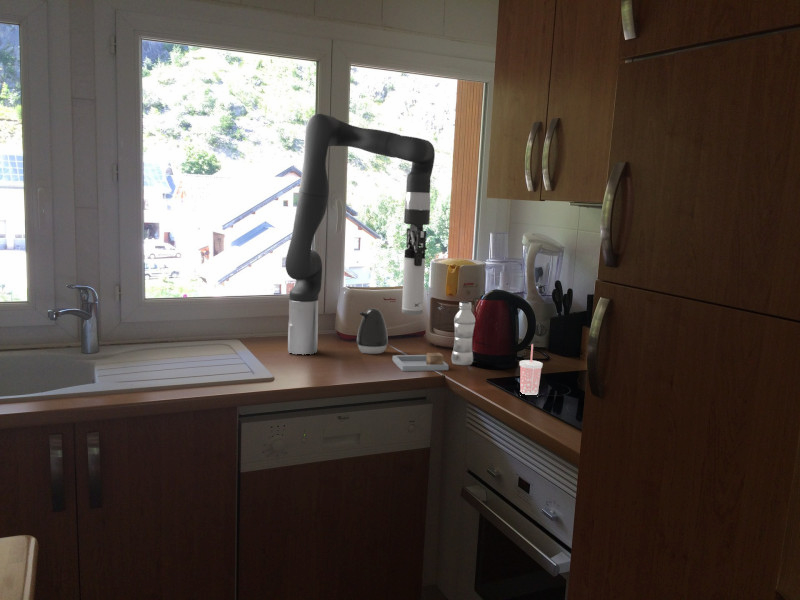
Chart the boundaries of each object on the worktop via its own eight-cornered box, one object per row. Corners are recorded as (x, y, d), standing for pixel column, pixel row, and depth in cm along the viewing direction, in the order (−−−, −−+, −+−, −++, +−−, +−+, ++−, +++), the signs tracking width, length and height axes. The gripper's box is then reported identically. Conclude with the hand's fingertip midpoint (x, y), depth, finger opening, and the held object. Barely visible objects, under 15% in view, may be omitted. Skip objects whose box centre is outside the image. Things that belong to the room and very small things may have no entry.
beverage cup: (537, 392, 183) (541, 342, 180) (542, 399, 177) (546, 347, 174) (515, 391, 182) (518, 341, 180) (519, 398, 176) (523, 346, 174)
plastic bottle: (452, 362, 212) (455, 300, 209) (473, 364, 211) (477, 301, 208) (449, 367, 206) (453, 303, 203) (471, 369, 205) (475, 304, 201)
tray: (402, 374, 196) (402, 366, 195) (392, 363, 208) (392, 355, 208) (448, 373, 199) (448, 365, 199) (435, 362, 211) (436, 354, 211)
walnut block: (429, 369, 199) (430, 356, 198) (426, 365, 203) (426, 352, 202) (442, 368, 200) (443, 355, 199) (438, 365, 204) (439, 352, 203)
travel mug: (421, 315, 199) (424, 247, 196) (399, 313, 200) (402, 246, 197) (425, 312, 205) (428, 246, 202) (404, 310, 206) (406, 245, 203)
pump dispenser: (349, 352, 220) (350, 307, 218) (373, 349, 227) (375, 304, 225) (369, 359, 212) (370, 311, 210) (393, 355, 219) (395, 309, 217)
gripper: (399, 207, 204) (397, 261, 206) (411, 208, 190) (408, 267, 193) (423, 207, 206) (420, 262, 208) (436, 209, 192) (433, 267, 194)
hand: (414, 264), depth 200 cm, fingers closed on travel mug, 6 cm apart
